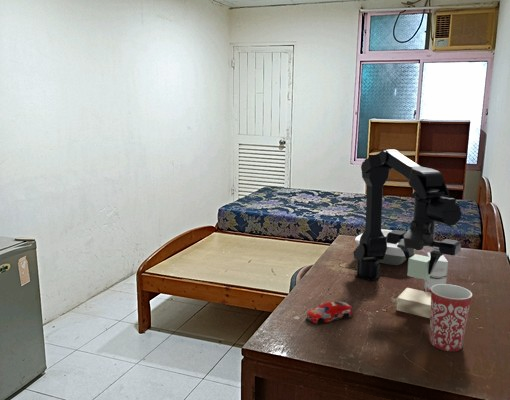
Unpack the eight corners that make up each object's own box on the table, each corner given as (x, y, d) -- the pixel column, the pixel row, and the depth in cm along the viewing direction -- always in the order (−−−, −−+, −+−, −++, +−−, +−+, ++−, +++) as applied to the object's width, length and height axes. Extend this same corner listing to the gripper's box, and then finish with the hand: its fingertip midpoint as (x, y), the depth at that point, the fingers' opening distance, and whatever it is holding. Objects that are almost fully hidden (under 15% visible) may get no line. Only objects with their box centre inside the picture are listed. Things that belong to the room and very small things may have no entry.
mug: (469, 356, 104) (475, 300, 102) (426, 350, 107) (431, 295, 104) (462, 331, 116) (468, 281, 113) (424, 326, 119) (428, 276, 116)
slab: (396, 311, 128) (397, 297, 128) (406, 300, 136) (407, 287, 135) (429, 319, 123) (431, 305, 123) (437, 307, 131) (439, 294, 130)
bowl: (348, 262, 169) (350, 239, 167) (371, 247, 187) (372, 227, 186) (409, 274, 156) (411, 250, 155) (427, 257, 175) (429, 236, 173)
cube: (407, 275, 127) (408, 258, 126) (414, 271, 131) (415, 254, 130) (425, 280, 124) (426, 262, 123) (431, 275, 128) (433, 257, 127)
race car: (312, 327, 119) (313, 312, 118) (302, 318, 123) (303, 304, 123) (356, 318, 123) (356, 304, 123) (344, 310, 128) (345, 296, 128)
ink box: (445, 299, 136) (449, 261, 133) (428, 298, 136) (431, 260, 134) (440, 289, 144) (443, 252, 142) (423, 287, 145) (426, 251, 143)
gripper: (379, 216, 124) (375, 271, 127) (450, 228, 112) (445, 288, 116) (395, 210, 133) (392, 261, 136) (464, 220, 121) (458, 276, 124)
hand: (419, 271), depth 127 cm, fingers closed on cube, 5 cm apart
